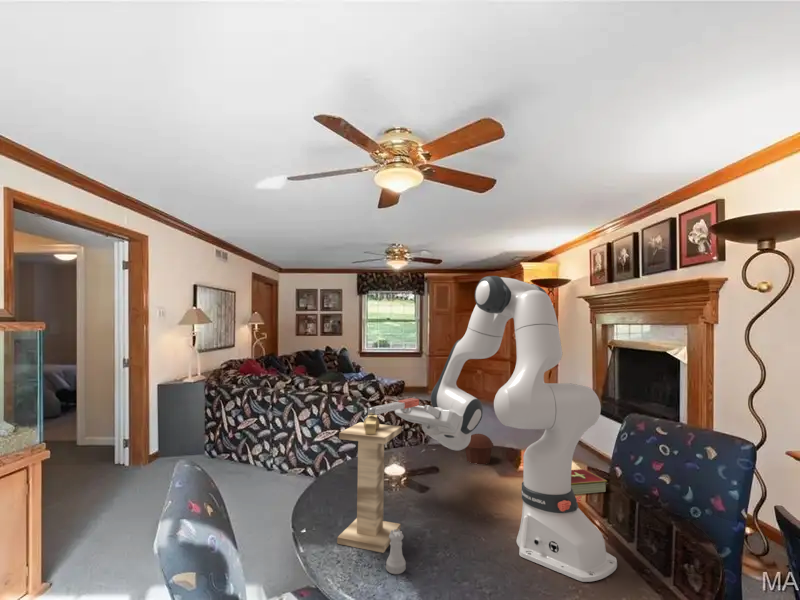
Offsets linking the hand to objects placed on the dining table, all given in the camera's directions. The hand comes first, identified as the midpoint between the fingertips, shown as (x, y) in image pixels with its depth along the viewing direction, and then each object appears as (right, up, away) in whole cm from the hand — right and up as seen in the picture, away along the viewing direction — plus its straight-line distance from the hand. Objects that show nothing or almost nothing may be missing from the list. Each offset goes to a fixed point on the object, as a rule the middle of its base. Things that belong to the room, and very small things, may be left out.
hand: (412, 405), depth 125 cm
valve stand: (-11, -29, -14) cm, 35 cm away
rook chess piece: (-5, -29, -29) cm, 41 cm away
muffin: (+27, -33, +46) cm, 63 cm away
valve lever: (-5, 0, -7) cm, 8 cm away
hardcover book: (+51, -32, +20) cm, 64 cm away
